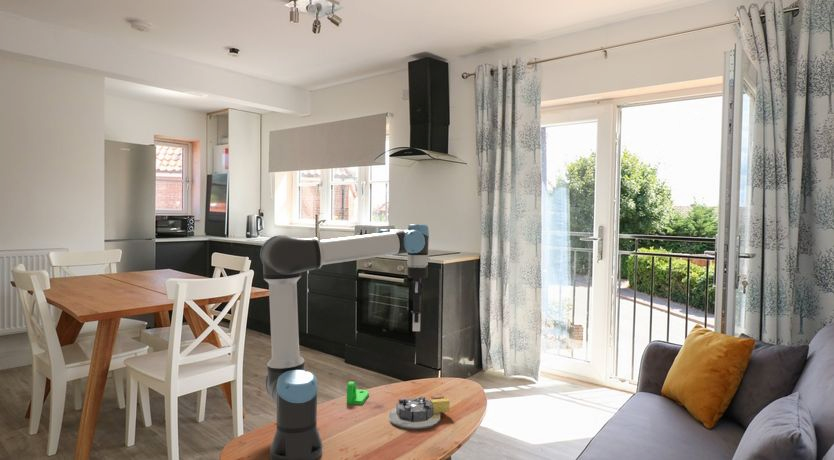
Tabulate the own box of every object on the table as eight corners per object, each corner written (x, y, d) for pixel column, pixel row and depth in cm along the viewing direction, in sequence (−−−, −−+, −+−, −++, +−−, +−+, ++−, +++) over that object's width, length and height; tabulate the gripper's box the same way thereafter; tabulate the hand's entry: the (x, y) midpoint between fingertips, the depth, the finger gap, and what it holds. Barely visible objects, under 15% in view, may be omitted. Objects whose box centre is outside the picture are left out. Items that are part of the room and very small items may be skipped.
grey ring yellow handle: (402, 422, 163) (402, 410, 163) (393, 408, 175) (393, 397, 175) (454, 417, 168) (454, 405, 168) (442, 404, 180) (442, 393, 180)
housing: (398, 432, 159) (398, 414, 159) (383, 412, 176) (383, 396, 176) (456, 424, 166) (456, 407, 166) (436, 405, 183) (436, 390, 183)
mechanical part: (361, 406, 182) (362, 385, 182) (346, 405, 183) (346, 384, 183) (370, 395, 194) (370, 375, 194) (356, 394, 195) (356, 374, 195)
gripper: (427, 268, 170) (425, 335, 170) (428, 265, 183) (427, 327, 183) (406, 267, 170) (404, 334, 171) (408, 264, 183) (407, 326, 184)
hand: (416, 330), depth 177 cm, fingers closed
